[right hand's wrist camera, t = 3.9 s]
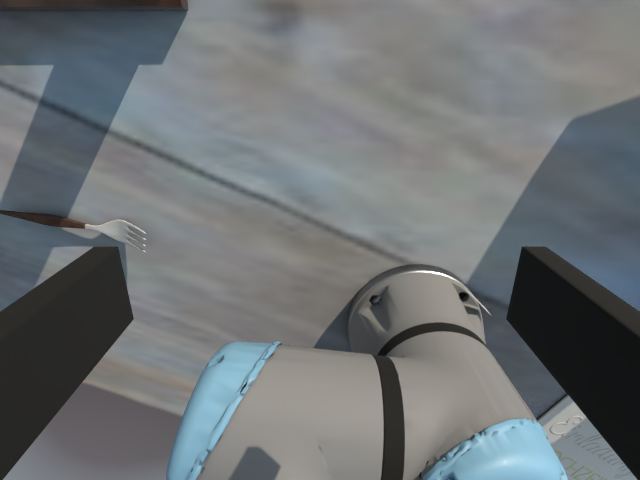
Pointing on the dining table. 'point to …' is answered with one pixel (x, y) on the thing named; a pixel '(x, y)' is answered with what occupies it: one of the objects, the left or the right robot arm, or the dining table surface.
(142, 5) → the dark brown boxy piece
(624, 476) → the invitation card
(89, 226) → the fork
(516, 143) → the dining table surface
